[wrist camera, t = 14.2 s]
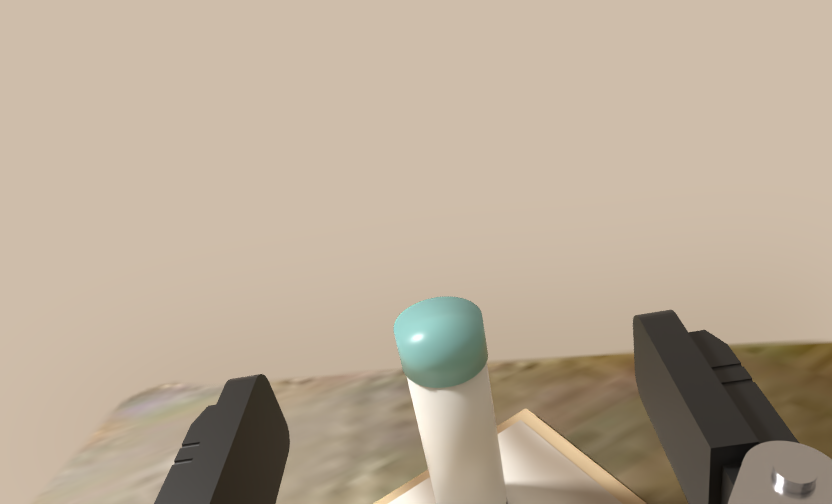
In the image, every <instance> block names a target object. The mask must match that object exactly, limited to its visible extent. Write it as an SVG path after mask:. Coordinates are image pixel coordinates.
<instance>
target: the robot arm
mask: <svg viewBox="0 0 832 504" xmlns="http://www.w3.org/2000/svg"><path fill="white" fill-rule="evenodd" d="M633 335H634V359H635V376H636V382H637V387H638V391H639V394H640V397H641V400H642V402H643V405H644V407H645V409H646V411H647V414H648V416H649V418H650V420H651V422H652V424H653V427H654V429H655V431H656V433H657V435H658V437H659V440H660V442H661V444H662V446H663V448H664V451H665V453H666V455H667V457H668V459H669V461H670V464H671V466H672V468H673V470H674V472H675V475H676V477H677V479H678V481H679V483H680V485H681V488H682V490H683V492H684V494H685V496H686V498H687V501H688V503H689V504H832V460H831V459H830V458H829V457H828V456H826V455H825V454H823V453H821V452H820V451H818V450H816V449H814V448H811V447H809V446H806V445H803V444H800V443H799V442H798V441H797V439H796V438H795V437H794V435H793V434H792V433H791V431H790V430H789V428H788V427H787V426H786V424H785V423H784V422H783V420H782V419H781V417H780V416H779V415H778V413H777V412H776V411H775V409H774V408H773V406H772V405H771V404H770V402H769V401H768V400H767V398H766V397H765V395H764V394H763V393H762V391H761V390H760V389H759V387H758V386H757V384H756V383H755V382H753V381H752V378H751V376H750V375H749V373H748V372H747V371H746V369H745V368H744V367H742V366H741V362H740V361H739V360H738V358H737V357H736V356H735V354H734V353H733V351H732V350H731V349H730V347H729V346H728V345H727V344H726V343H724V342H723V341H721V340H720V339H718V338H717V337H715V336H714V335H712V334H710V333H709V332H707V331H706V330H701V331H696V332H689V333H688V332H687V330H686V328H685V327H684V325H683V324H682V322H681V321H680V319H679V318H678V316H677V315H676V313H675V312H674V311H673V310H666V311H660V312H654V313H647V314H641V315H636V316H634V319H633ZM289 444H290V439H289V430H288V426H287V423H286V421H285V418H284V416H283V414H282V411H281V409H280V407H279V404H278V402H277V400H276V397H275V395H274V393H273V390H272V388H271V386H270V383H269V381H268V379H267V378H266V376H265V375H262V374H260V375H254V376H247V377H241V378H235V379H230V380H228V381H227V382H226V384H225V386H224V389H223V391H222V393H221V395H220V398H219V400H218V402H217V405H211V406H208V407H207V408H206V409H205V410H204V411H203V412H202V413H201V414H200V416H199V417H198V418H197V419H196V420H195V421H194V422H193V423H192V424H191V426H190V428H189V430H188V433H187V435H186V437H185V439H184V441H183V443H182V448H180V450H179V452H178V454H177V456H176V458H175V460H174V462H175V464H174V465H172V467H171V469H170V471H169V473H168V475H167V477H166V479H165V481H164V484H163V486H162V488H161V490H160V492H159V494H158V496H157V499H156V501H155V503H154V504H275V503H276V499H277V495H278V491H279V488H280V484H281V480H282V476H283V472H284V468H285V464H286V461H287V457H288V453H289Z"/></svg>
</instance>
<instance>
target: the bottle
mask: <svg viewBox="0 0 832 504" xmlns="http://www.w3.org/2000/svg"><path fill="white" fill-rule="evenodd" d="M394 334H395V338H396V342H397V347H398V351H399V355H400V360H401V364H402V368H403V371H404V373H405V375H406V376H407V380H408V384H409V388H410V392H411V397H412V401H413V405H414V410H415V414H416V418H417V422H418V427H419V431H420V435H421V440H422V444H423V448H424V453H425V457H426V461H427V465H428V470H429V474H430V478H431V483H432V487H433V491H434V495H435V500H436V504H508V500H507V493H506V487H505V480H504V474H503V467H502V460H501V454H500V447H499V440H498V434H497V427H496V420H495V414H494V407H493V401H492V394H491V387H490V381H489V374H488V367H487V359H488V354H487V353H488V352H487V346H486V338H485V333H484V326H483V319H482V313H481V311H480V309H479V308H478V306H477V305H475V304H474V303H472V302H471V301H468V300H466V299H463V298H458V297H436V298H431V299H427V300H423V301H420V302H418V303H416V304H414V305H412V306H410V307H409V308H407V309H406V310H404V311H403V312H402V313H401V314H400V315H399V316H398V318H397V319H396V321H395V324H394Z"/></svg>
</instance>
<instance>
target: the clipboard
mask: <svg viewBox="0 0 832 504" xmlns="http://www.w3.org/2000/svg"><path fill="white" fill-rule="evenodd" d="M497 434H498V440H499V447H500V454H501V460H502V467H503V474H504V480H505V487H506V493H507V500H508V504H647V503H645V502H644V501H643V500H642V499H640V498H639V497H638V496H636V495H635V494H634V493H633V492H631V491H630V490H629V489H628V488H626V487H625V486H624V485H623V484H621V483H620V482H619V481H617V480H616V479H615V478H614V477H612V476H611V475H610V474H609V473H607V472H606V471H605V470H604V469H602V468H601V467H600V466H598V465H597V464H596V463H595V462H593V461H592V460H591V459H590V458H588V457H587V456H586V455H585V454H583V453H582V452H581V451H579V450H578V449H577V448H576V447H574V446H573V445H572V444H571V443H569V442H568V441H567V440H566V439H564V438H563V437H562V436H560V435H559V434H558V433H557V432H555V431H554V430H553V429H552V428H550V427H549V426H548V425H547V424H545V423H544V422H543V421H541V420H540V419H539V418H538V417H536V416H535V415H534V414H533V413H531V412H530V411H529V410H528V409H524V410H522V411H521V412H519V413H518V414H516V415H514V416H513V417H511V418H510V419H508V420H506V421H505V422H503V423H502V424H500V425H498V426H497ZM374 504H436V500H435V495H434V491H433V487H432V483H431V478H430V474H429V470H426V471H425V472H423V473H422V474H420V475H418V476H417V477H415V478H414V479H412V480H410V481H409V482H407V483H406V484H404V485H402V486H401V487H399V488H398V489H396V490H394V491H393V492H391V493H390V494H388V495H386V496H385V497H383V498H382V499H380V500H378V501H377V502H375V503H374Z"/></svg>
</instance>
